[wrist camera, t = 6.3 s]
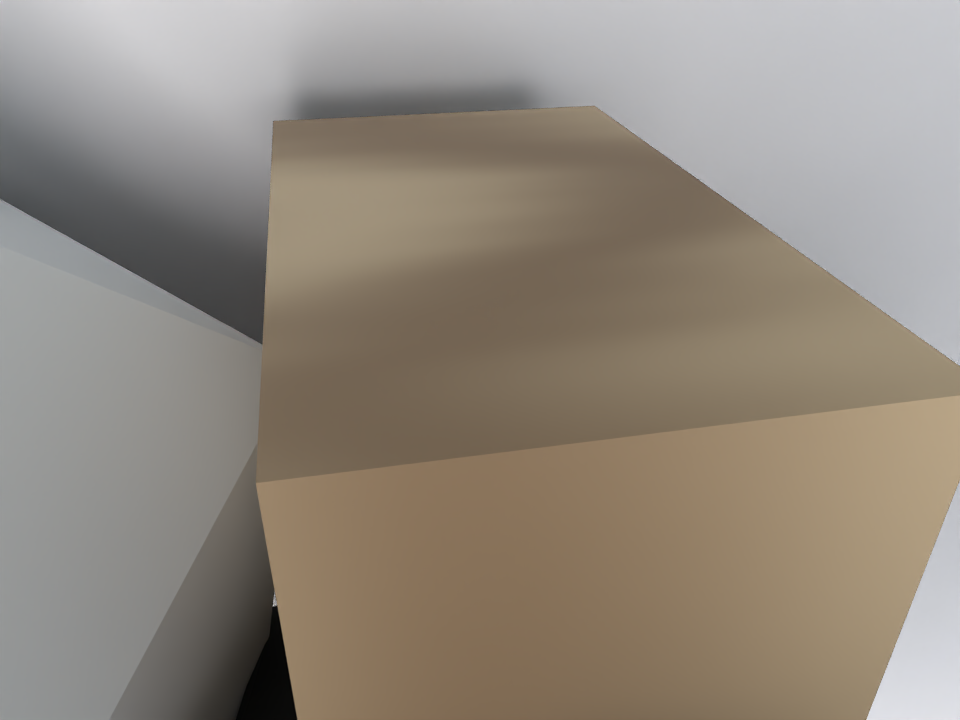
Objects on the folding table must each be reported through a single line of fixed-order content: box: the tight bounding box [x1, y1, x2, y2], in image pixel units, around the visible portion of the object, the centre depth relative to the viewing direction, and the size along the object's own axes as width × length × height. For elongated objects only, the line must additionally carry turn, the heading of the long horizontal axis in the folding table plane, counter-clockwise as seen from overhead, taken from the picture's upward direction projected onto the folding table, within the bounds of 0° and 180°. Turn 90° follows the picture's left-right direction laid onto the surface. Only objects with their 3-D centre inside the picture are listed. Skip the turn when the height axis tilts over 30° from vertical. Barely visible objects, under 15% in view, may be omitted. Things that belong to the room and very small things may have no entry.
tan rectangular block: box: [256, 106, 960, 720], centre depth 9 cm, size 4×12×6 cm, turn 0°
